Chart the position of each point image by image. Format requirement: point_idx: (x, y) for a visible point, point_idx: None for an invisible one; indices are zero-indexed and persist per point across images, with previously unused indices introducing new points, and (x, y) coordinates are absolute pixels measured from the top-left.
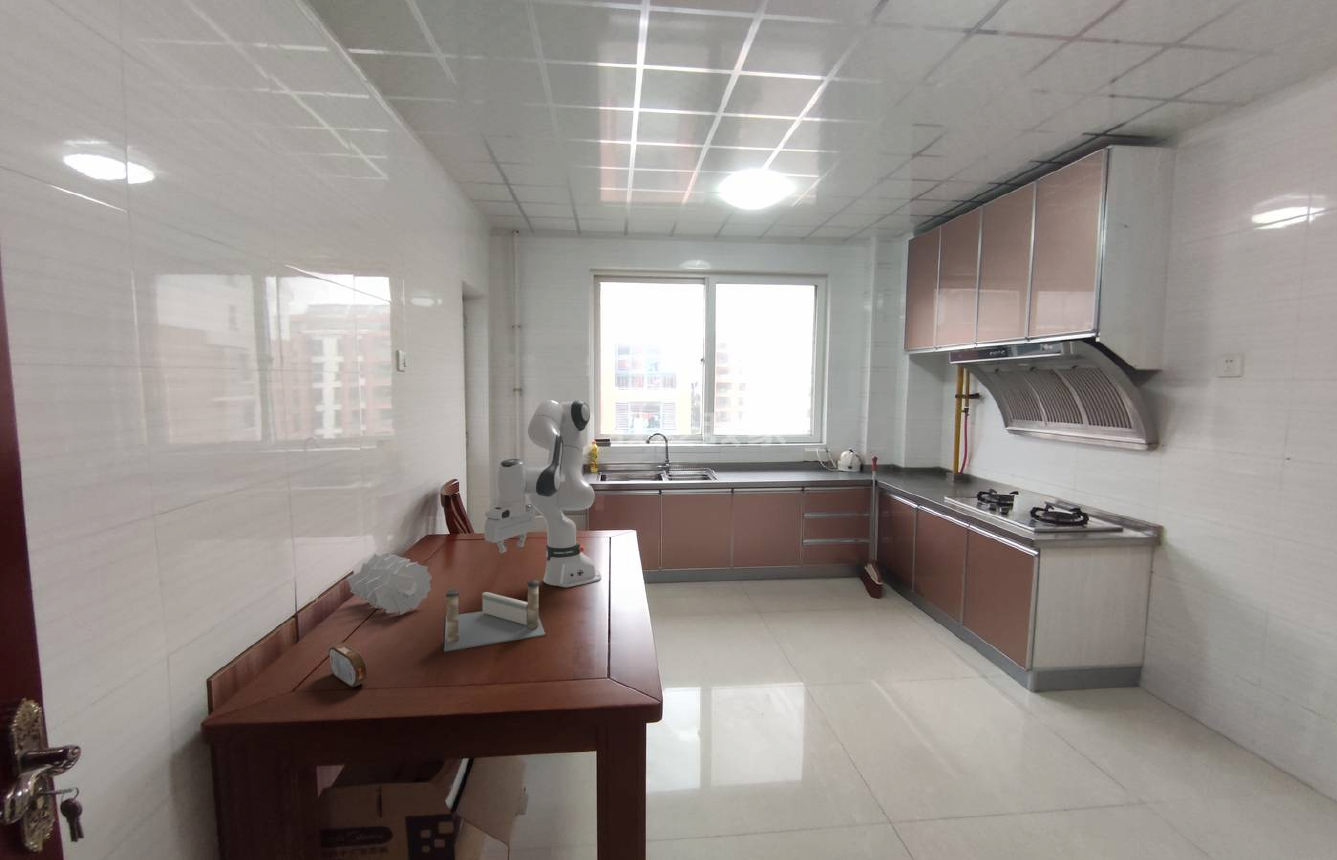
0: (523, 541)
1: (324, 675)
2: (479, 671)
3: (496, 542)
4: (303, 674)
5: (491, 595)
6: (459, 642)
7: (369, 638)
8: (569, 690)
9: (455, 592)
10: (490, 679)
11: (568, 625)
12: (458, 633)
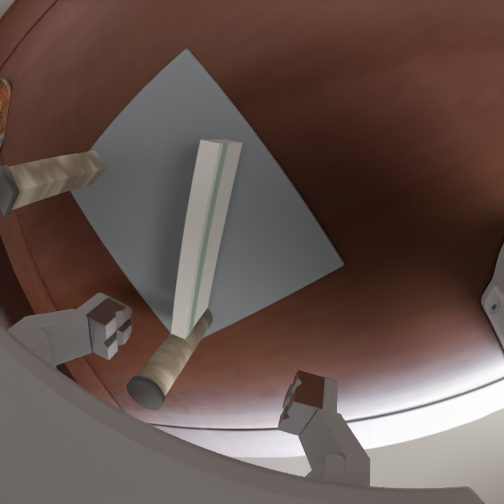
0: (307, 437)
1: (7, 76)
2: (60, 278)
3: (22, 322)
4: (8, 51)
5: (192, 188)
6: (90, 190)
7: (79, 8)
8: (93, 388)
9: (2, 203)
10: (58, 301)
11: (243, 375)
12: (115, 157)
